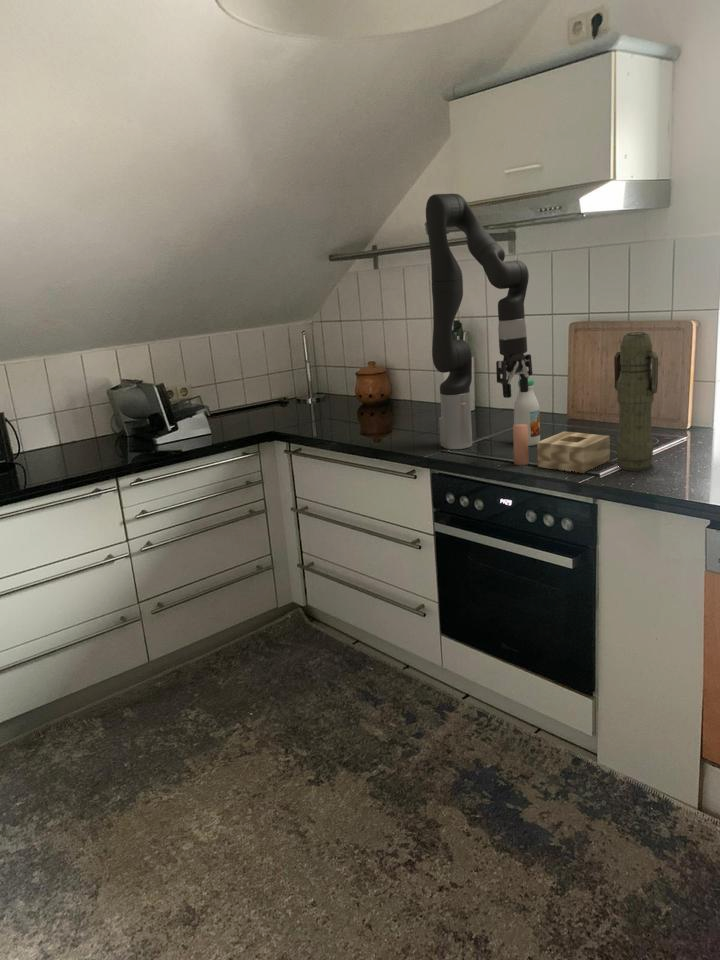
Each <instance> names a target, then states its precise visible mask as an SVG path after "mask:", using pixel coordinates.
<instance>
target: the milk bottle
mask: <svg viewBox="0 0 720 960" xmlns="http://www.w3.org/2000/svg"><path fill="white" fill-rule="evenodd" d="M517 384H518V385H517V387H518V392H517V397H516V398H515V401H514V406H513V425H515V424H527V425H528V447H532V446H537V442H539V441H541V420H540V405H539V401H538V398H537V396H536V394H535V391H534V387H535V386H534V384H535V383H534V379H532V378H528V392H521V391H520V379H519V380H517Z"/></svg>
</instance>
